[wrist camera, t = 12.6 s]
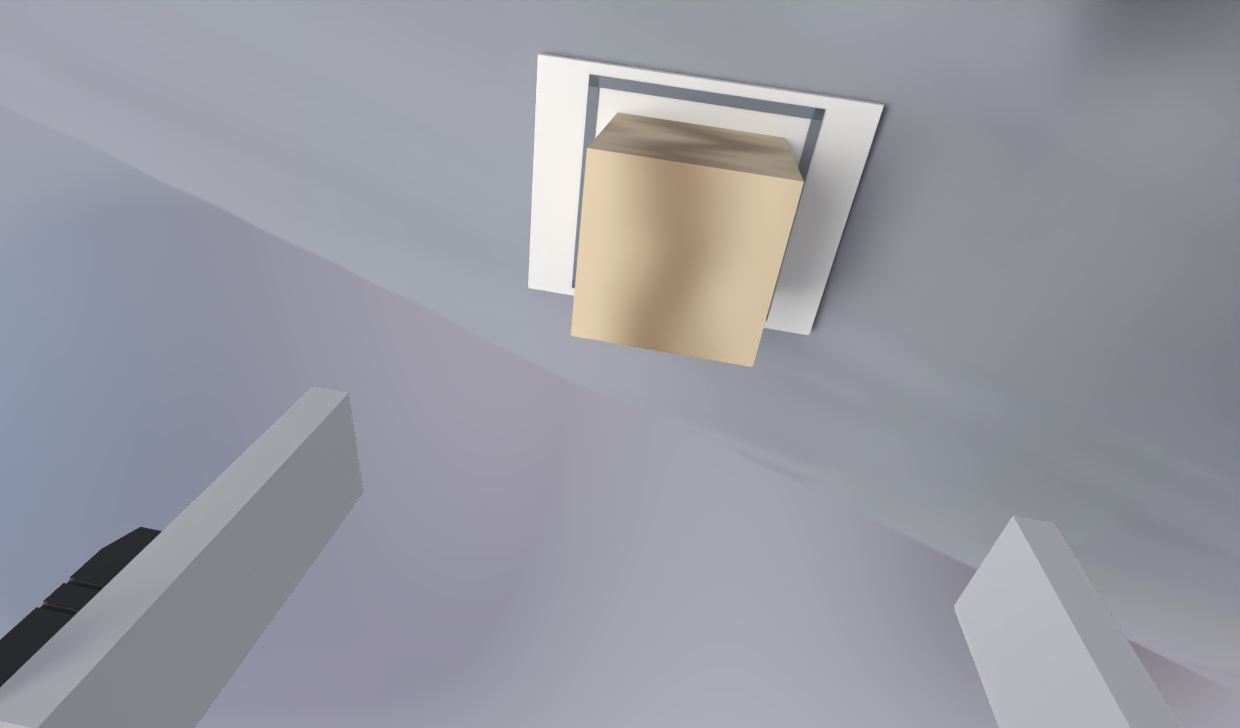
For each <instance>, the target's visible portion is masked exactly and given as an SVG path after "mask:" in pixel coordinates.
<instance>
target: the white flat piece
mask: <svg viewBox="0 0 1240 728" xmlns="http://www.w3.org/2000/svg"><path fill="white" fill-rule="evenodd" d="M883 107H884V105H882V104H881V103H878V102H871V101H864V100H857V99H851V98H844V97H837V96H830V95H824V94H817V93H810V92H803V91H796V90H790V89H783V88H776V87H769V86H762V85H756V84H749V83H742V82H735V81H729V80H722V79H715V78H708V77H701V76H695V75H688V74H681V73H674V72H667V71H661V70H654V69H647V68H640V67H634V66H627V65H620V64H613V63H606V62H600V61H593V60H586V59H579V58H572V57H566V56H559V55H552V54H545V53H541V54H538V67H537V91H536V115H535V139H534V163H533V187H532V211H531V235H530V259H529V283H528V288H532V289H538V290H544V291H550V292H556V293H562V294H568V295H574V293H575V281H576V269H577V258H578V246H579V235H580V223H581V211H582V200H583V188H584V177H585V165H586V153H587V147H588V146H589V145H590V144H591V143H592V142H593V140H594V139H595V138H596V137H597V136H598V135H599V133H600V132H601V131H602V130H603V129H604V128H605V126H606V125H607V124H608V123H609V122H610V121H611V119H612V118H613V117H614V116H615V115H616V114H617V112H619V113H626V114H633V115H639V116H646V117H652V118H659V119H665V120H672V121H679V122H685V123H692V124H698V125H705V126H712V127H718V128H725V129H731V130H738V131H745V132H751V133H758V134H764V135H771V136H777V137H784V138H785V140H786V143H787V145H788V147H789V149H790V152H791V154H792V156H793V158H794V160H795V163H796V165H797V167H798V169H799V172H800V174H801V176H802V178H803V180H804V184H803V187H802V191H801V195H800V198H799V202H798V206H797V209H796V213H795V216H794V220H793V224H792V227H791V231H790V234H789V238H788V242H787V245H786V249H785V252H784V256H783V260H782V263H781V267H780V270H779V274H778V278H777V281H776V285H775V288H774V292H773V296H772V299H771V303H770V306H769V310H768V314H767V317H766V321H765V324H764V328H768V329H774V330H780V331H786V332H792V333H798V334H804V335H809V334H810V331H811V328H812V325H813V322H814V319H815V316H816V313H817V310H818V307H819V303H820V300H821V297H822V294H823V291H824V288H825V285H826V282H827V279H828V276H829V273H830V270H831V267H832V264H833V260H834V257H835V254H836V251H837V248H838V245H839V242H840V239H841V236H842V233H843V230H844V227H845V224H846V220H847V217H848V214H849V211H850V208H851V205H852V202H853V199H854V196H855V193H856V190H857V187H858V184H859V180H860V177H861V174H862V171H863V168H864V165H865V162H866V159H867V156H868V153H869V150H870V147H871V144H872V141H873V137H874V134H875V131H876V128H877V125H878V122H879V119H880V116H881V113H882V110H883Z"/></svg>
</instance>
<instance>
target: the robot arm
mask: <svg viewBox="0 0 1240 728" xmlns="http://www.w3.org/2000/svg"><path fill="white" fill-rule="evenodd" d="M362 494H363V485H362V479H361V472H360V465H359V459H358V452H357V446H356V438H355V432H354V425H353V418H352V411H351V405H350V398H349V393H346V392H341V391H335V390H330V389H325V388H319V387H314V386H313V387H311V389H309V390H308V391H307V392H306V393H305V394H304V395H303V396H302V397H301V398H300V399H299V400H298V401H297V402H296V403H295V404H294V405H293V406H292V407H291V408H290V409H289V410H287V411H286V412H285V413H284V414H283V415H282V416H281V417H280V418H279V419H278V420H277V421H276V422H275V423H274V424H273V425H272V426H271V427H270V428H269V429H268V430H267V431H266V432H265V433H264V434H263V435H262V436H261V437H260V438H258V439H257V441H255V442H254V443H253V444H252V445H251V446H250V447H249V448H248V449H247V450H246V451H245V452H244V453H243V454H242V455H241V456H240V457H239V458H238V459H237V460H236V461H235V462H234V463H232V464H231V465H230V466H229V467H228V469H226V470H225V471H224V472H223V473H222V474H221V475H220V476H219V477H218V478H217V479H216V480H215V481H214V482H213V483H212V484H211V485H210V486H209V487H208V488H207V489H206V490H204V491H203V492H202V494H200V495H199V496H198V497H197V498H196V499H195V500H194V501H193V502H192V503H191V504H190V505H189V506H188V507H187V508H186V509H185V510H184V511H183V512H182V513H181V514H180V515H179V516H178V517H177V518H176V519H175V520H173V521H172V522H171V523H170V524H169V525H168V526H167V527H166V528H165V529H164V530H163V531H158V530H153V529H148V528H144V527H140V528H138V529H136V530H134V531H132V532H131V533H129V534H127V535H125V536H124V537H122V538H120V539H118V540H116V541H115V542H113V543H111V544H109V545H108V546H106V547H104V548H102V549H101V550H100V551H99V552H98V553H96V555H94V556H93V557H92V558H91V559H90V560H89V561H88V562H86V563H85V564H84V565H83V566H82V567H81V568H80V569H79V570H78V571H76V572H75V573H74V574H73V575H72V576H71V577H70V581H69V582H68V583H66V584H65V583H63V584H62V585H61V586H60V587H59V588H57V589H56V590H55V591H54V592H53V593H52V594H51V595H50V596H49V597H47V598H46V599H45V600H44V603H43V605H42V606H41V607H40V608H38V607H36V608H35V609H34V610H33V611H32V612H31V613H30V614H29V615H27V616H26V618H24V619H23V620H22V621H21V622H20V623H19V624H18V625H16V626H15V627H14V628H13V629H12V630H11V631H10V632H9V633H7V634H6V635H5V636H4V637H3V638H2V639H1V640H0V728H195V727H196V725H197V724H198V722H199V721H200V720H201V718H202V717H203V715H204V714H205V713H206V711H207V710H208V708H209V707H210V706H211V704H212V703H213V701H214V700H215V699H216V697H217V696H218V695H219V693H220V692H221V690H222V689H223V688H224V686H225V685H226V683H227V682H228V680H229V679H230V678H231V676H232V675H233V673H234V672H235V671H236V669H237V668H238V667H239V665H240V664H241V662H242V661H243V659H244V658H245V657H246V655H247V654H248V653H249V651H250V650H251V648H252V647H253V646H254V644H255V643H256V642H257V640H258V639H259V637H260V636H261V635H262V633H263V632H264V630H265V629H266V628H267V626H268V625H269V623H270V622H271V620H272V619H273V618H274V616H275V615H276V614H277V612H278V611H279V609H280V608H281V607H282V605H283V603H284V602H285V601H286V600H287V598H288V597H289V595H290V594H291V593H292V591H293V590H294V588H295V587H296V586H297V584H298V583H299V582H300V580H301V579H302V577H303V576H304V575H305V573H306V572H307V570H308V569H309V568H310V566H311V565H312V563H313V562H314V561H315V559H316V558H317V556H318V555H319V554H320V552H321V551H322V549H323V548H324V547H325V545H326V544H327V542H328V541H329V540H330V538H331V537H332V535H333V534H334V533H335V531H336V530H337V529H338V527H339V526H340V524H341V523H342V521H343V520H344V519H345V517H346V516H347V515H348V513H349V512H350V510H351V509H352V508H353V506H354V505H355V503H356V502H357V500H358V499H359V498H360V496H361V495H362ZM954 609H955V612H956V615H957V617H958V620H959V623H960V625H961V628H962V630H963V633H964V636H965V638H966V641H967V644H968V647H969V649H970V652H971V655H972V657H973V660H974V663H975V665H976V668H977V671H978V673H979V675H980V678H981V681H982V684H983V687H984V689H985V692H986V695H987V697H988V700H989V703H990V705H991V708H992V710H993V713H994V716H995V719H996V721H997V724H998V727H999V728H1182V727H1181V725H1180V724H1179V722H1178V720H1177V719H1176V717H1175V716H1174V714H1173V713H1172V711H1171V709H1170V708H1169V706H1168V704H1167V703H1166V701H1165V700H1164V698H1163V697H1162V695H1161V693H1160V692H1159V690H1158V688H1157V687H1156V685H1155V684H1154V682H1153V680H1152V679H1151V677H1150V676H1149V674H1148V672H1147V671H1146V669H1145V668H1144V666H1143V664H1142V663H1141V661H1140V660H1139V658H1138V656H1137V655H1136V653H1135V651H1134V650H1133V648H1132V647H1131V645H1130V643H1129V642H1128V640H1127V639H1126V637H1125V635H1124V634H1123V632H1122V631H1121V629H1120V627H1119V626H1118V624H1117V623H1116V621H1115V619H1114V618H1113V616H1112V615H1111V613H1110V611H1109V610H1108V608H1107V607H1106V605H1105V603H1104V602H1103V600H1102V599H1101V597H1100V595H1099V594H1098V592H1097V590H1096V589H1095V587H1094V586H1093V584H1092V582H1091V581H1090V579H1089V578H1088V576H1087V574H1086V573H1085V571H1084V570H1083V568H1082V566H1081V565H1080V563H1079V562H1078V560H1077V558H1076V557H1075V555H1074V554H1073V552H1072V550H1071V549H1070V547H1069V546H1068V544H1067V542H1066V541H1065V539H1064V538H1063V536H1062V534H1061V533H1060V531H1059V530H1058V528H1057V526H1056V525H1055V523H1051V522H1046V521H1040V520H1035V519H1029V518H1024V517H1018V516H1012V518H1011V519H1010V521H1009V522H1008V524H1007V525H1006V527H1005V529H1004V530H1003V532H1002V533H1001V535H1000V536H999V538H998V539H997V541H996V542H995V544H994V545H993V547H992V549H991V550H990V552H989V553H988V555H987V556H986V558H985V559H984V561H983V562H982V564H981V565H980V567H979V569H978V570H977V572H976V573H975V575H974V576H973V578H972V579H971V581H970V582H969V584H968V585H967V587H966V589H965V590H964V592H963V593H962V595H961V596H960V598H959V599H958V601H957V602H956V604H955V605H954Z"/></svg>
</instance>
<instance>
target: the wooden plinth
mask: <svg viewBox="0 0 1240 728" xmlns="http://www.w3.org/2000/svg"><path fill="white" fill-rule="evenodd" d="M803 184H804V180H803V178H802V176H801V174H800V172H799V169H798V167H797V165H796V163H795V160H794V158H793V156H792V154H791V152H790V149H789V147H788V145H787V143H786V140H785V138H784V137H777V136H771V135H764V134H758V133H751V132H745V131H738V130H731V129H725V128H718V127H712V126H705V125H698V124H692V123H685V122H679V121H672V120H665V119H659V118H652V117H646V116H639V115H633V114H626V113H619V112H617V114H616V115H615V116H614V117H613V118H612V119H611V121H610V122H609V123H608V124H607V125H606V126H605V128H604V129H603V130H602V131H601V132H600V133H599V135H598V136H597V137H596V138H595V139H594V140H593V142H592V143H591V144H590V145H589V146H588V147H587V153H586V165H585V177H584V188H583V200H582V211H581V223H580V235H579V246H578V258H577V269H576V281H575V293H574V304H573V316H572V328H571V336H576V337H581V338H587V339H593V340H599V341H604V342H610V343H616V344H622V345H627V346H633V347H639V348H645V349H651V350H656V351H662V352H668V353H674V354H679V355H685V356H691V357H697V358H702V359H708V360H714V361H720V362H725V363H731V364H737V365H743V366H749V367H753V364H754V361H755V357H756V353H757V350H758V346H759V343H760V339H761V335H762V332H763V328H764V324H765V321H766V317H767V314H768V310H769V306H770V303H771V299H772V296H773V292H774V288H775V285H776V281H777V278H778V274H779V270H780V267H781V263H782V260H783V256H784V252H785V249H786V245H787V242H788V238H789V234H790V231H791V227H792V224H793V220H794V216H795V213H796V209H797V206H798V202H799V198H800V195H801V191H802V187H803Z"/></svg>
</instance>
